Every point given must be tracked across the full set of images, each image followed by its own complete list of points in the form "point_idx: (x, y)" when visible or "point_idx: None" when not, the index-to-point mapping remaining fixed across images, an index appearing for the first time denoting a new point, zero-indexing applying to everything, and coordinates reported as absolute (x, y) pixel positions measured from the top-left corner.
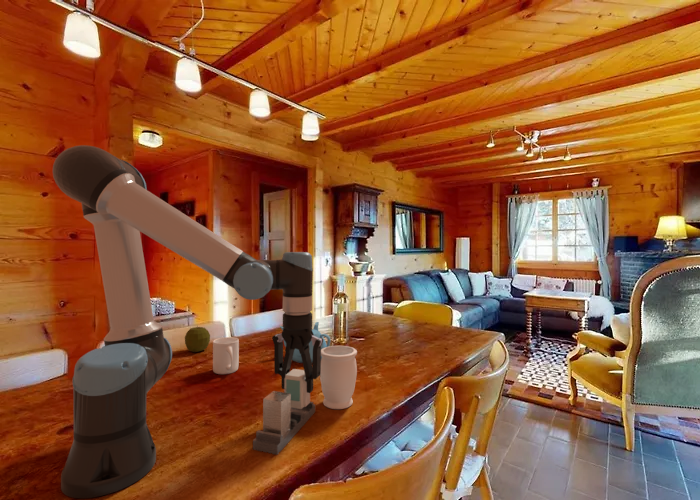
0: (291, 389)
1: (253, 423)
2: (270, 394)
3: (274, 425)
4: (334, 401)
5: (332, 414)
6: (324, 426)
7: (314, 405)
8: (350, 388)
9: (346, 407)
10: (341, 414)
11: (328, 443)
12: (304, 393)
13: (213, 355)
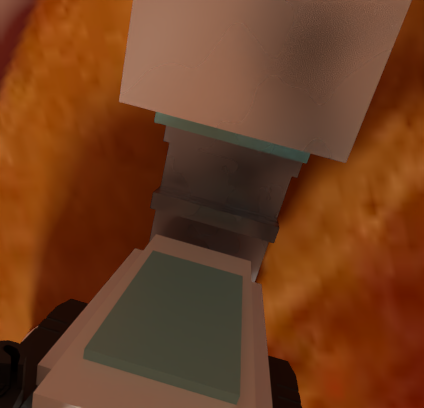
0: (195, 310)
1: (394, 210)
2: (372, 43)
3: None
4: None
5: (74, 286)
6: (80, 198)
7: None
8: None
9: (32, 329)
10: (42, 286)
11: (30, 69)
12: (108, 291)
13: None
